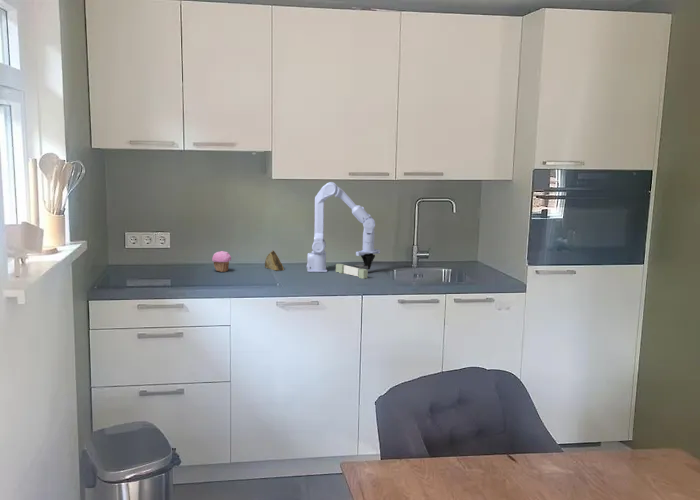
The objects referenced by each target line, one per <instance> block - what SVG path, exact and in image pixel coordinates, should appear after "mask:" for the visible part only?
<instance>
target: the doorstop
mask: <svg viewBox="0 0 700 500" xmlns="http://www.w3.org/2000/svg"><path fill="white" fill-rule="evenodd" d="M353 267H355V268H361V269H366V270H368V271H369V269H368V266H367V265H364V264H362V263H361V264H360V263H359V264H354V265H353Z"/></svg>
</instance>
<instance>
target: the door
mask: <svg viewBox="0 0 700 500" xmlns="http://www.w3.org/2000/svg"><path fill="white" fill-rule="evenodd" d="M359 269H361V268H355V267H354V266H351V265H346V264H344V273H343V274H345V275H348V276H349V275H351V276H355V277H358V275H359Z"/></svg>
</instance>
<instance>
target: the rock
mask: <svg viewBox="0 0 700 500" xmlns="http://www.w3.org/2000/svg"><path fill="white" fill-rule="evenodd" d="M264 260H265V262H264V268H266V269H269V270H271V271H272V270H273V271H284V270H285V269H284V266H283V264H282V262H281V260H280V258H279V256H278V255H277V253H276V251H274V250H272V251H270V252H269V253H268V254H267V256H266V258H265V259H264Z"/></svg>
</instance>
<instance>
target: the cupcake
mask: <svg viewBox="0 0 700 500" xmlns="http://www.w3.org/2000/svg"><path fill="white" fill-rule="evenodd" d="M211 260H212V262H213V267H214V269H215V271H216V272H221V273H225V272H228V271H229V264H230V261H232V256H231V255H230V253H229V252H228V251H224V250H221V251H216V252H215V253H213V255H212V259H211Z"/></svg>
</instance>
